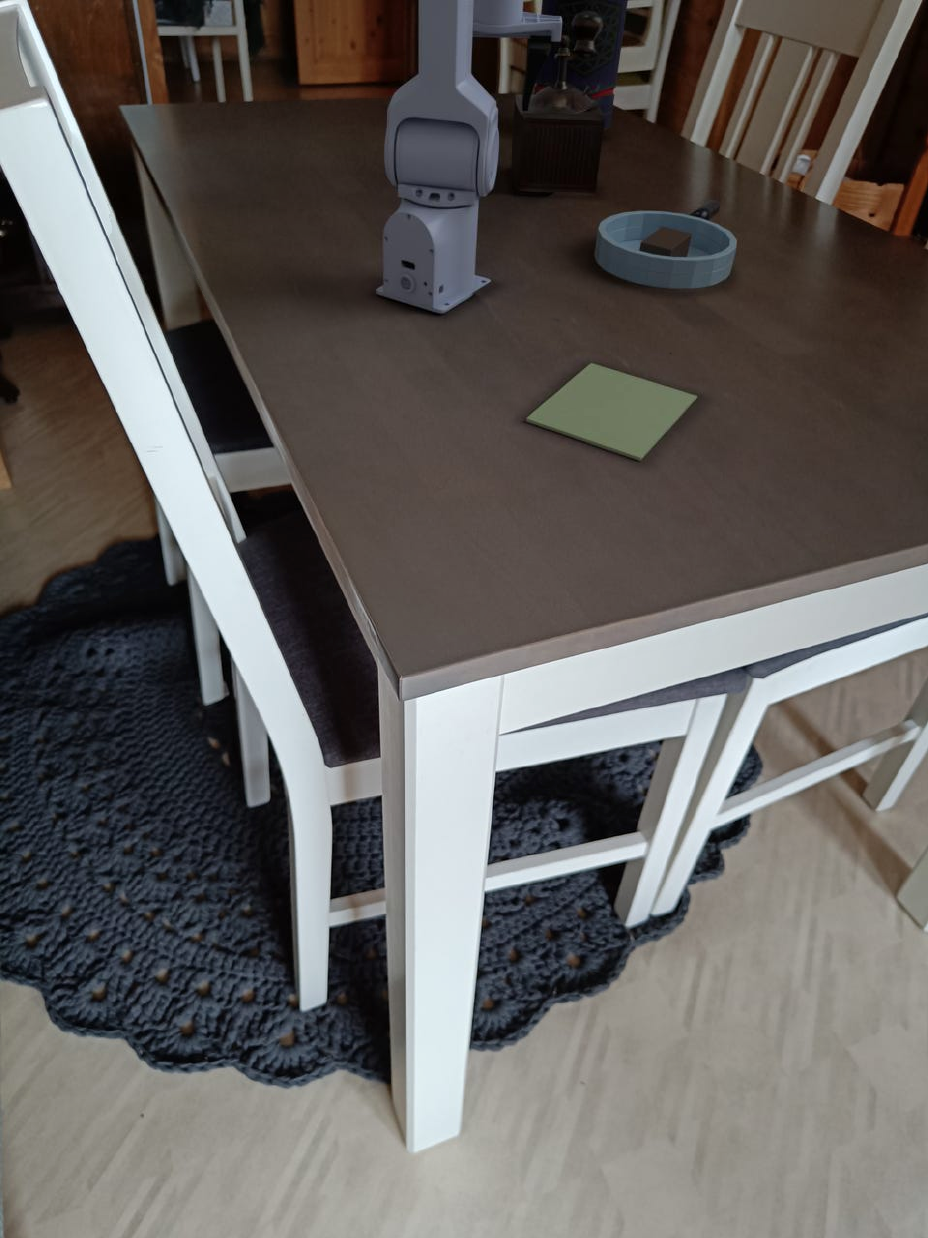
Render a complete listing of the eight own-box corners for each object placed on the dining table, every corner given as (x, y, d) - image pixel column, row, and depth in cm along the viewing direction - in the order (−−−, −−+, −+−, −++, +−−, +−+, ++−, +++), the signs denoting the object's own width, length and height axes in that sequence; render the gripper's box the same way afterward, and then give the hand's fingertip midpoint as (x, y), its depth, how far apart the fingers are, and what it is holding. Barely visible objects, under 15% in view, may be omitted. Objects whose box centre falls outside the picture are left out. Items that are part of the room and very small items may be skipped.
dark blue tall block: (615, 143, 134) (653, -117, 114) (535, 141, 133) (560, -123, 113) (598, 119, 144) (631, -125, 124) (524, 116, 143) (545, -130, 123)
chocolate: (666, 273, 96) (671, 249, 94) (636, 265, 97) (640, 241, 95) (687, 256, 99) (692, 233, 98) (657, 249, 101) (662, 226, 99)
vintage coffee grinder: (601, 198, 115) (625, 31, 103) (515, 195, 114) (529, 27, 102) (583, 161, 126) (602, 8, 114) (504, 158, 125) (516, 3, 113)
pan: (700, 305, 91) (708, 271, 89) (571, 270, 96) (575, 237, 94) (746, 262, 101) (755, 230, 98) (627, 232, 106) (632, 201, 104)
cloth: (640, 461, 69) (640, 457, 69) (525, 421, 73) (525, 418, 72) (696, 398, 77) (697, 395, 76) (590, 365, 80) (591, 362, 80)
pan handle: (694, 235, 102) (698, 218, 100) (680, 231, 102) (683, 214, 101) (719, 215, 107) (723, 199, 106) (705, 212, 107) (708, 196, 106)
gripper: (564, -40, 99) (552, 95, 110) (432, -44, 99) (432, 91, 109) (567, -21, 95) (554, 118, 105) (429, -25, 95) (430, 114, 105)
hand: (492, 106), depth 107 cm, fingers open, 7 cm apart
